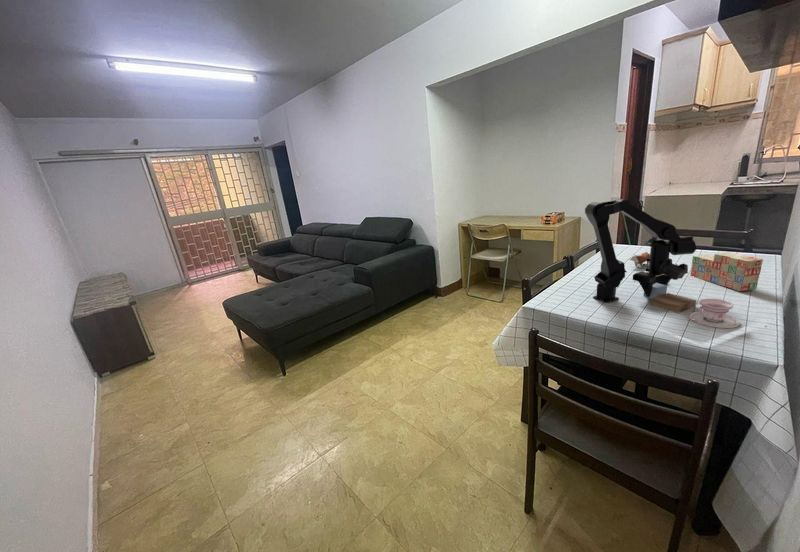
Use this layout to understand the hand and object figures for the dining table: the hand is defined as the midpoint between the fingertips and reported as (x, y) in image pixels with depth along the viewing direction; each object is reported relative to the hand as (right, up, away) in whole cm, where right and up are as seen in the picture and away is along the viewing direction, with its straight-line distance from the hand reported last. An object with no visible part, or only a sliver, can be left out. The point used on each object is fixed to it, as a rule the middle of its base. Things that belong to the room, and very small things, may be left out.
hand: (654, 294), depth 124 cm
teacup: (+2, -8, -21) cm, 23 cm away
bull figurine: (+19, +11, +33) cm, 40 cm away
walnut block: (0, -4, -8) cm, 9 cm away
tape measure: (+9, +4, +11) cm, 14 cm away
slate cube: (0, -1, 0) cm, 1 cm away
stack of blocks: (+33, +5, +6) cm, 34 cm away
